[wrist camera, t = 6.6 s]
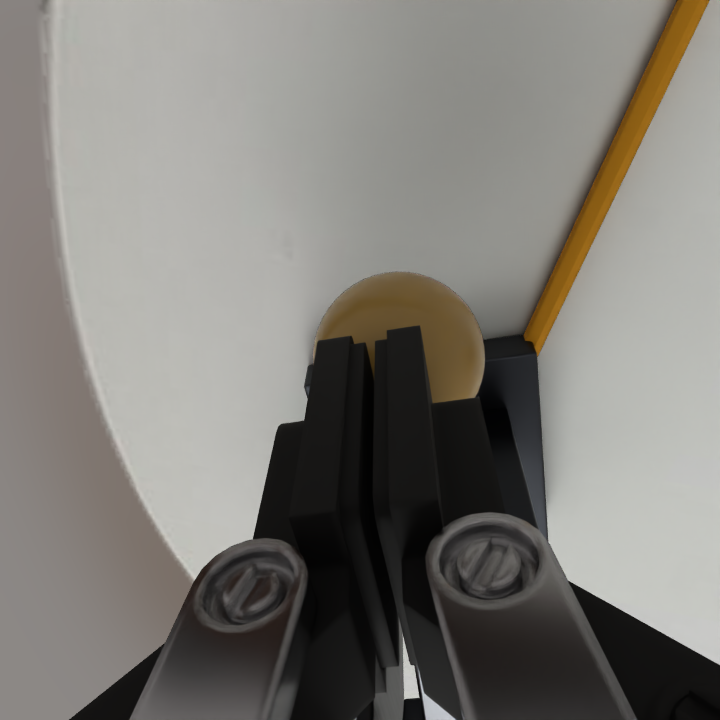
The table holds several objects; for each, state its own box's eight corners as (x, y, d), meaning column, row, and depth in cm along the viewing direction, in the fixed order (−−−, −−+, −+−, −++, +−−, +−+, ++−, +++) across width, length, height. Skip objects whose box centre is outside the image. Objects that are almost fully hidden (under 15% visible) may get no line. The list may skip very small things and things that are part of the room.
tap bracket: (307, 365, 21) (221, 804, 10) (529, 332, 20) (696, 778, 9) (355, 539, 25) (330, 987, 14) (541, 519, 24) (667, 980, 13)
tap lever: (316, 285, 14) (282, 288, 11) (467, 260, 14) (477, 256, 10) (400, 801, 15) (392, 937, 12) (541, 792, 15) (570, 932, 12)
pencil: (753, -181, 14) (772, -188, 13) (783, -171, 14) (803, -177, 13) (452, 478, 24) (454, 494, 23) (471, 483, 24) (473, 498, 23)
